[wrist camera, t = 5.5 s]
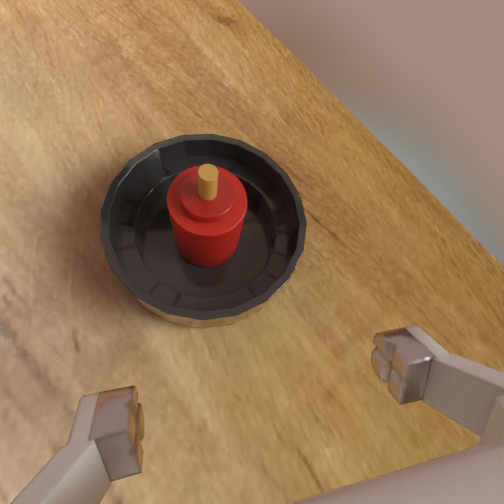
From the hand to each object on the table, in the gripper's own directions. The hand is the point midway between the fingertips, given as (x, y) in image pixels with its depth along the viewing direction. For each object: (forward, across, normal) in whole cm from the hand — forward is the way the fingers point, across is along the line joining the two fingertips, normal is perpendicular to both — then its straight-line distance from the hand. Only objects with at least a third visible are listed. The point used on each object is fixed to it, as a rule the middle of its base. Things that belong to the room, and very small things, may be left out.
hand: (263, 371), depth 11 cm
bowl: (+19, 0, +4) cm, 20 cm away
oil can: (+19, 0, +3) cm, 19 cm away
